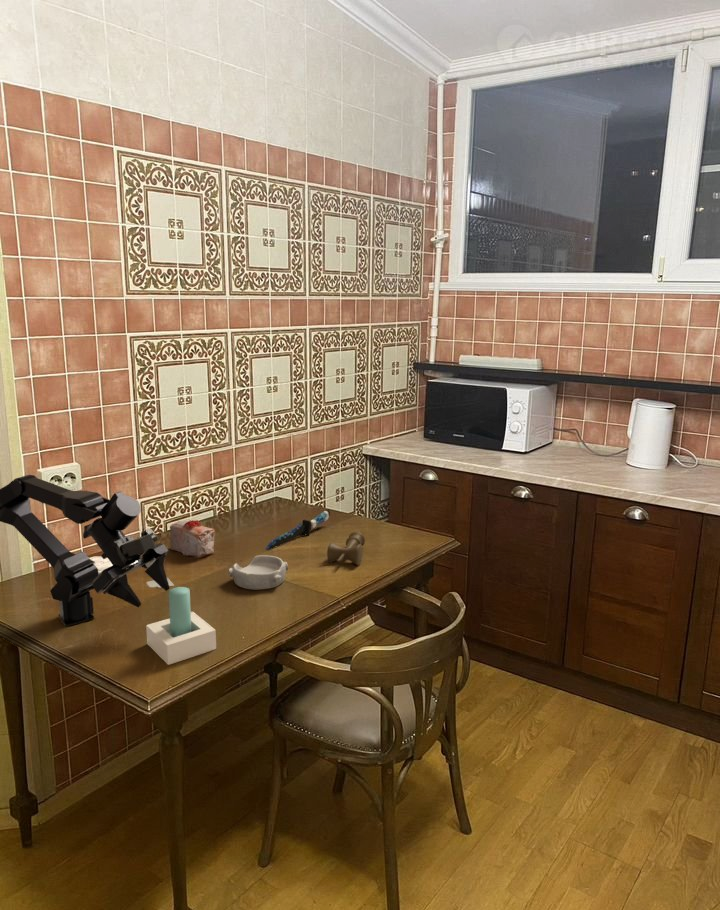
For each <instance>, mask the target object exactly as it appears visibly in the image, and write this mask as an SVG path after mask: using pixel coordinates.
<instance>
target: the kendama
mask: <svg viewBox="0 0 720 910" xmlns="http://www.w3.org/2000/svg"><path fill="white" fill-rule="evenodd" d="M365 543H366V538H365V536H364V534H363V533H361V532H358V531H353V532H351V533H350V534H349V536H348V538H347V539H346V541H345V547H344V546H343V547H341V546H339V545H338V544H336V543H334V542H330V543H329V544H328V546H327V552H326V557H327V562H329V563H332V562H335V561H337V562H341V561H342V560H347V561H349V562H351V563H353V564H354V565H356V566H357V565H358V566H360V565H361V563H362V560H363V552H364V551H363V546H364V545H365ZM359 564H360V565H359Z"/></svg>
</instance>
